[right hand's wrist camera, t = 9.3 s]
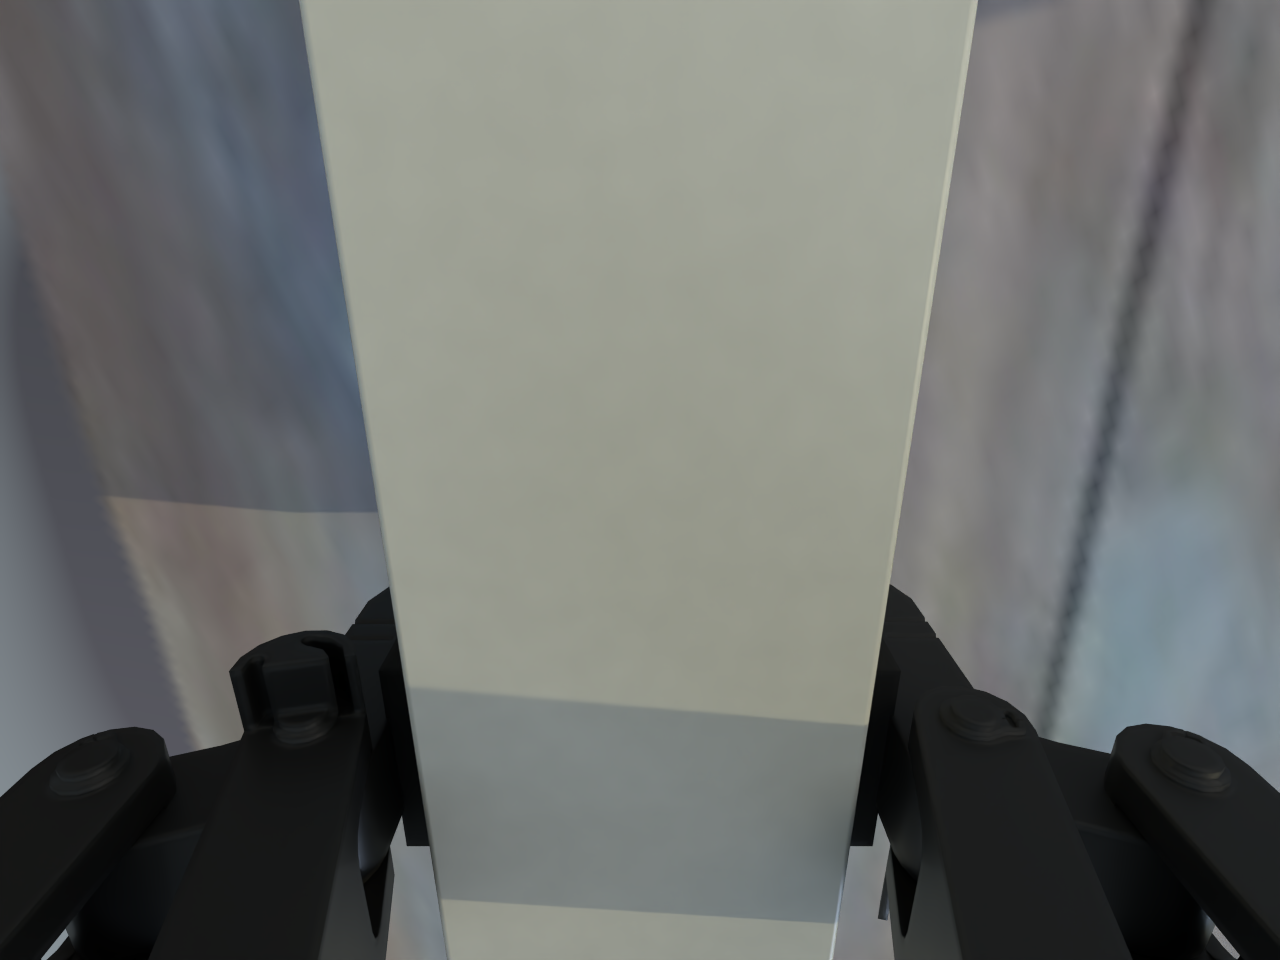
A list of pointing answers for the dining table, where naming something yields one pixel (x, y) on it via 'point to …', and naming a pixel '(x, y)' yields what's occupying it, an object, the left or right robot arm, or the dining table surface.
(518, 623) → the bar
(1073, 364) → the dining table surface
